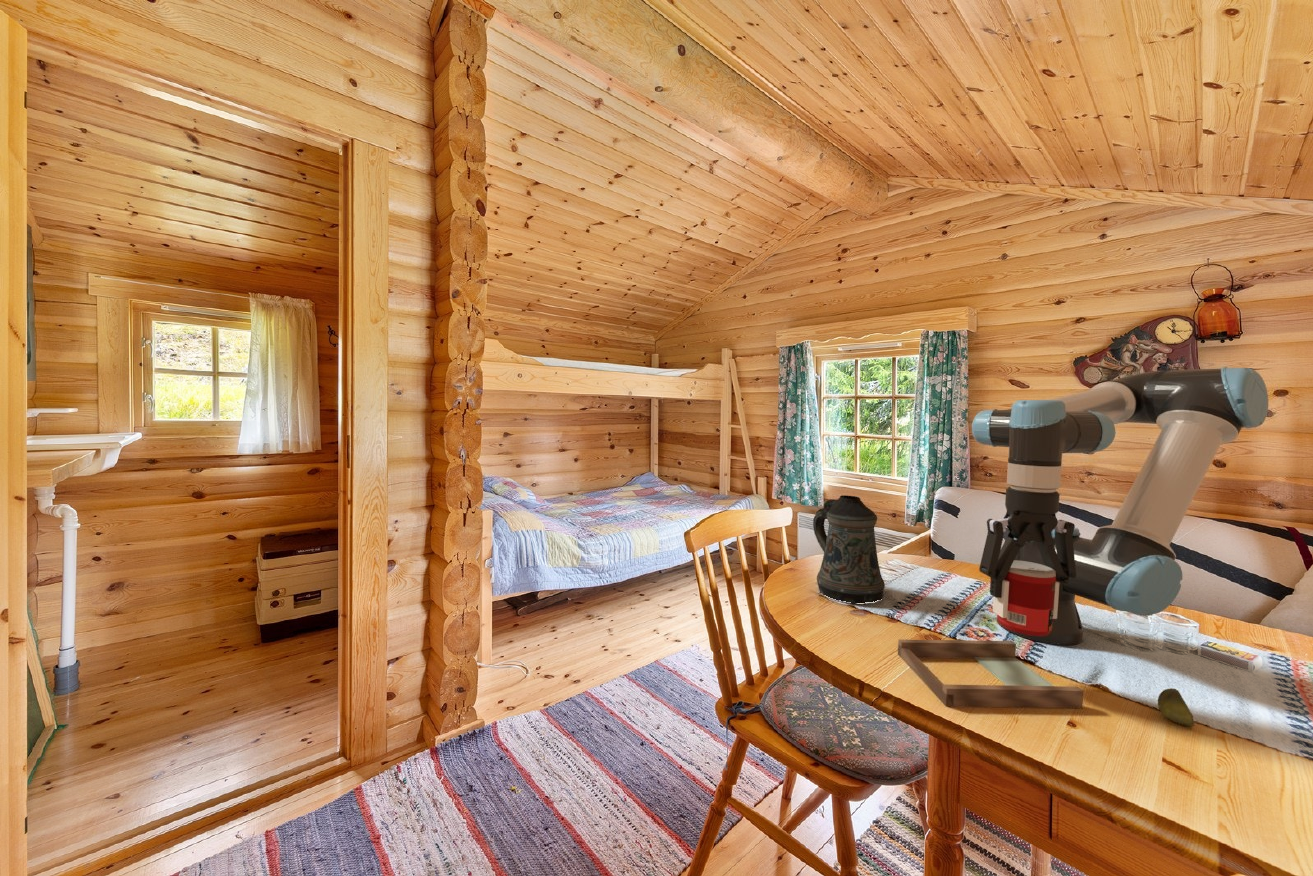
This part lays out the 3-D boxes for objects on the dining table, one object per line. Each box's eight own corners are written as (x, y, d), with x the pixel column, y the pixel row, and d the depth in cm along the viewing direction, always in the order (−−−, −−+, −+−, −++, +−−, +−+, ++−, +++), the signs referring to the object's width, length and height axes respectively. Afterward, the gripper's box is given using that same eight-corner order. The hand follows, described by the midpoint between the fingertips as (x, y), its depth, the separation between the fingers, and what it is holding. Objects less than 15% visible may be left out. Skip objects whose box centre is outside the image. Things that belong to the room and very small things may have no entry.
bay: (1010, 655, 99) (1011, 641, 99) (1082, 708, 82) (1083, 690, 82) (897, 654, 99) (898, 639, 99) (945, 706, 82) (946, 688, 82)
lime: (1169, 711, 81) (1172, 681, 81) (1206, 730, 77) (1209, 698, 76) (1147, 713, 81) (1149, 683, 80) (1183, 733, 76) (1185, 701, 76)
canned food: (1061, 639, 85) (1066, 575, 84) (1008, 634, 87) (1012, 572, 86) (1037, 620, 93) (1041, 561, 92) (989, 616, 94) (992, 558, 93)
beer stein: (877, 610, 120) (882, 507, 118) (797, 593, 130) (799, 498, 129) (889, 589, 134) (892, 496, 132) (815, 575, 144) (817, 488, 143)
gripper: (1075, 485, 92) (1066, 607, 93) (959, 484, 92) (953, 605, 93) (1111, 492, 84) (1101, 625, 86) (985, 491, 84) (978, 623, 86)
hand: (1024, 615), depth 90 cm, fingers closed on canned food, 8 cm apart
